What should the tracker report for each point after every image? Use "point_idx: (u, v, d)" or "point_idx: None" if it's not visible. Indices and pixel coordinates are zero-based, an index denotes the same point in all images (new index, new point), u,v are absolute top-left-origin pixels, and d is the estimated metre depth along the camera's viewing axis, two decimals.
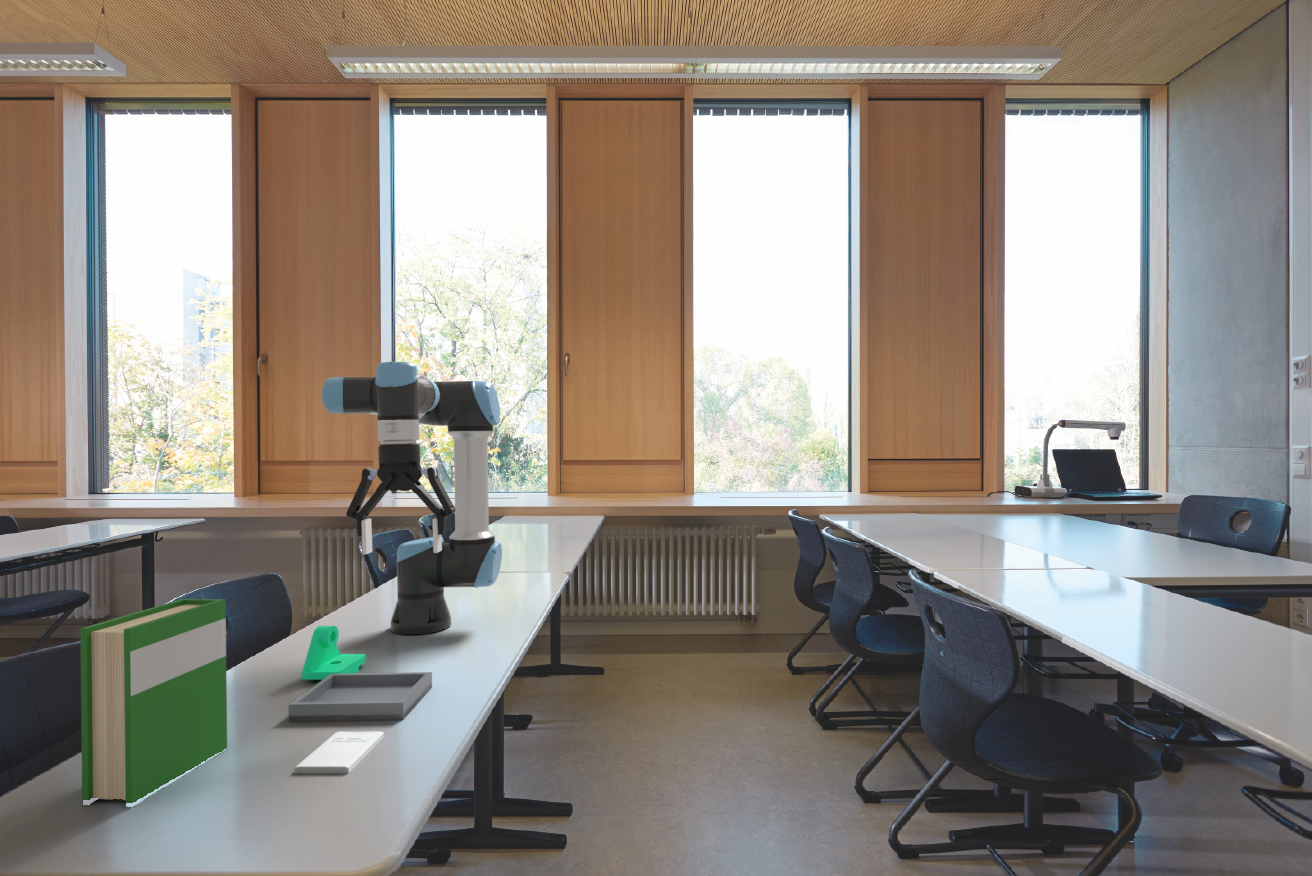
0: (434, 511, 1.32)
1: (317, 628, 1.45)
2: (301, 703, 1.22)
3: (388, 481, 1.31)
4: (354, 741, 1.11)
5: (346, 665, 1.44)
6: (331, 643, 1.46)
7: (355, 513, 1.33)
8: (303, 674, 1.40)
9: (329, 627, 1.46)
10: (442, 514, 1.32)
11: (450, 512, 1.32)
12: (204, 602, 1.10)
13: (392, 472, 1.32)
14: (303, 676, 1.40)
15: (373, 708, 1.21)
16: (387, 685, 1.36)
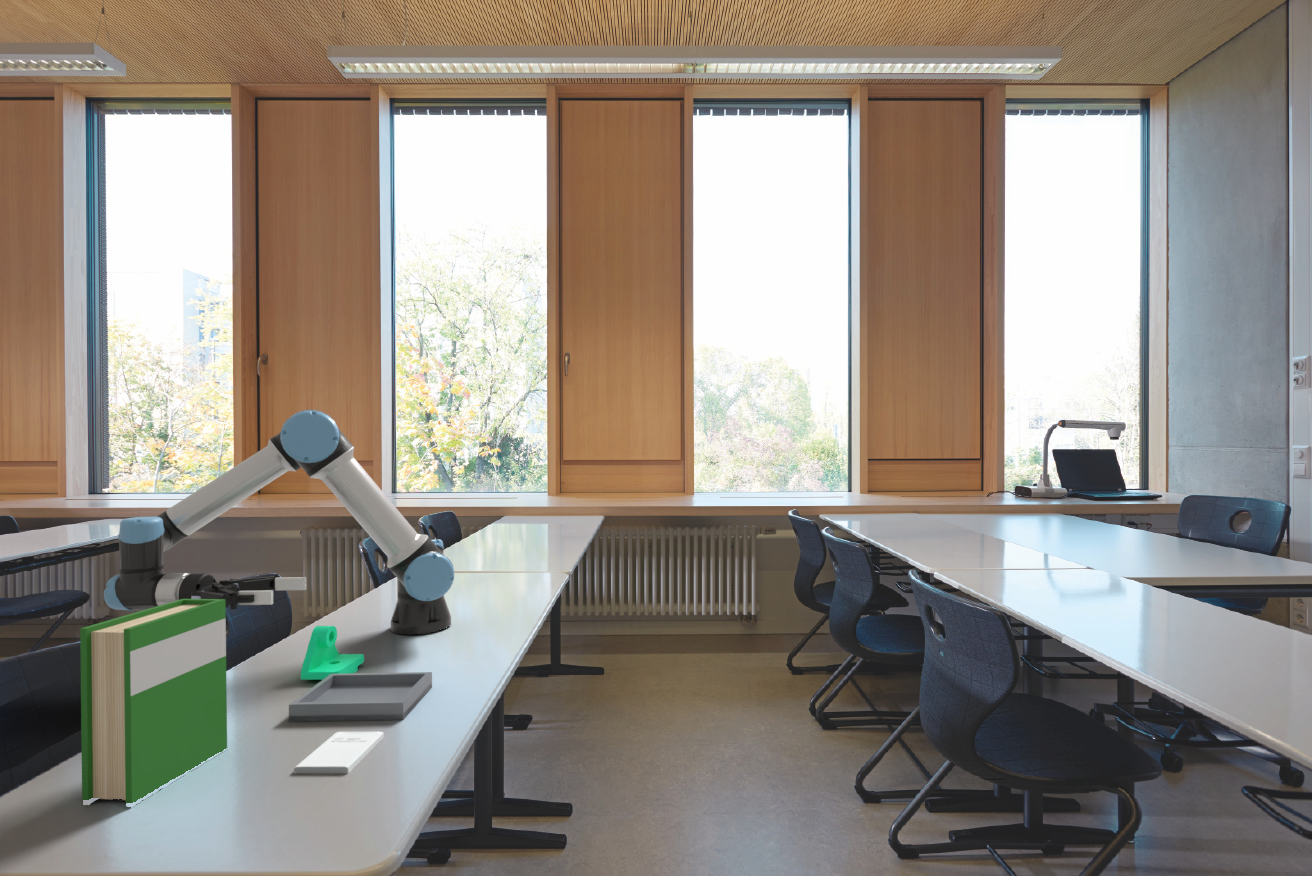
0: None
1: (316, 628, 1.45)
2: (301, 703, 1.22)
3: None
4: (353, 741, 1.11)
5: (345, 665, 1.44)
6: (330, 643, 1.46)
7: None
8: (302, 674, 1.40)
9: (328, 627, 1.46)
10: (231, 605, 1.38)
11: None
12: (204, 602, 1.10)
13: None
14: (301, 676, 1.40)
15: (373, 708, 1.21)
16: (387, 685, 1.36)
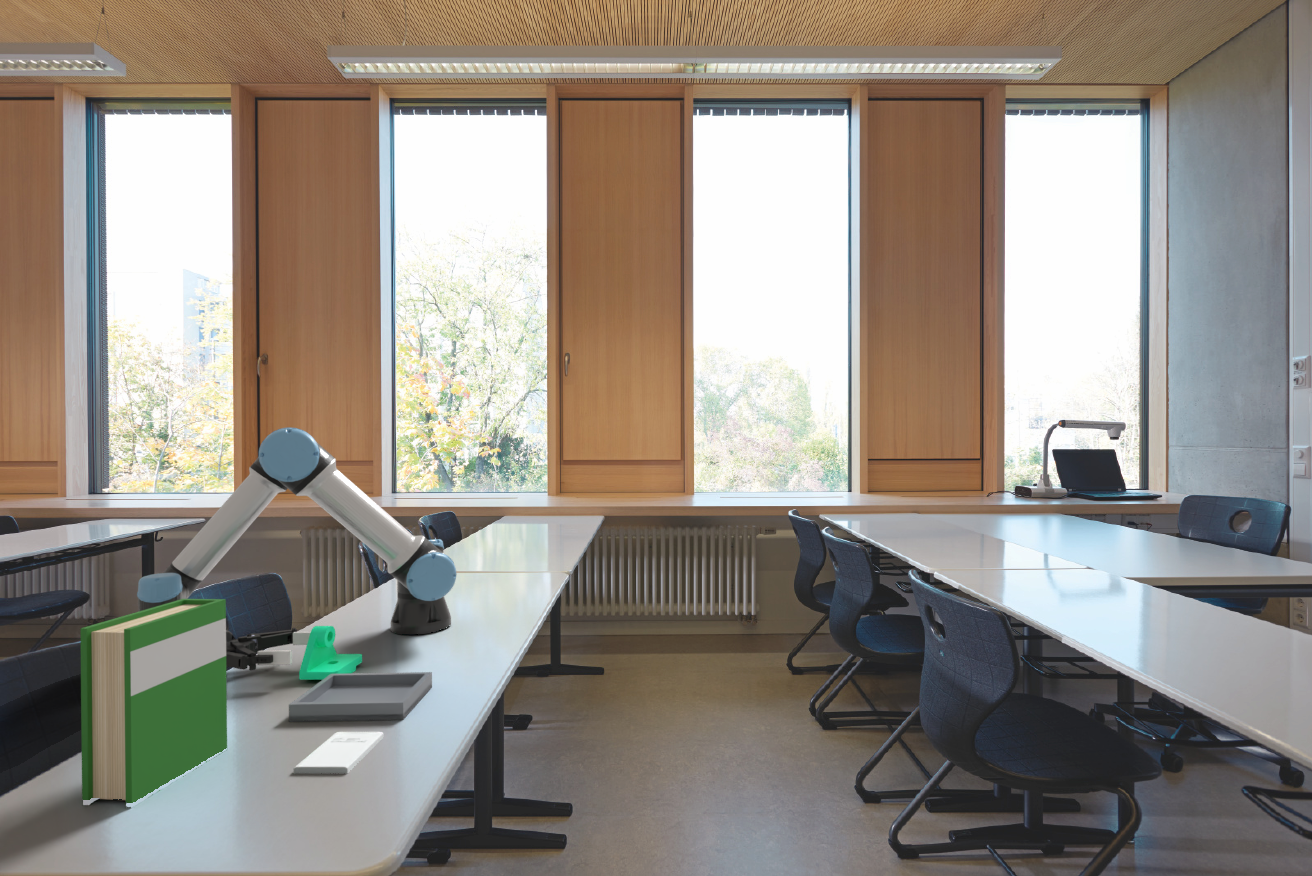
0: None
1: (314, 628, 1.45)
2: (301, 703, 1.22)
3: None
4: (353, 741, 1.11)
5: (343, 665, 1.44)
6: (328, 643, 1.46)
7: None
8: (300, 674, 1.40)
9: (326, 627, 1.46)
10: (250, 666, 1.37)
11: (243, 668, 1.36)
12: (204, 602, 1.10)
13: None
14: (300, 676, 1.40)
15: (373, 708, 1.21)
16: (387, 685, 1.36)
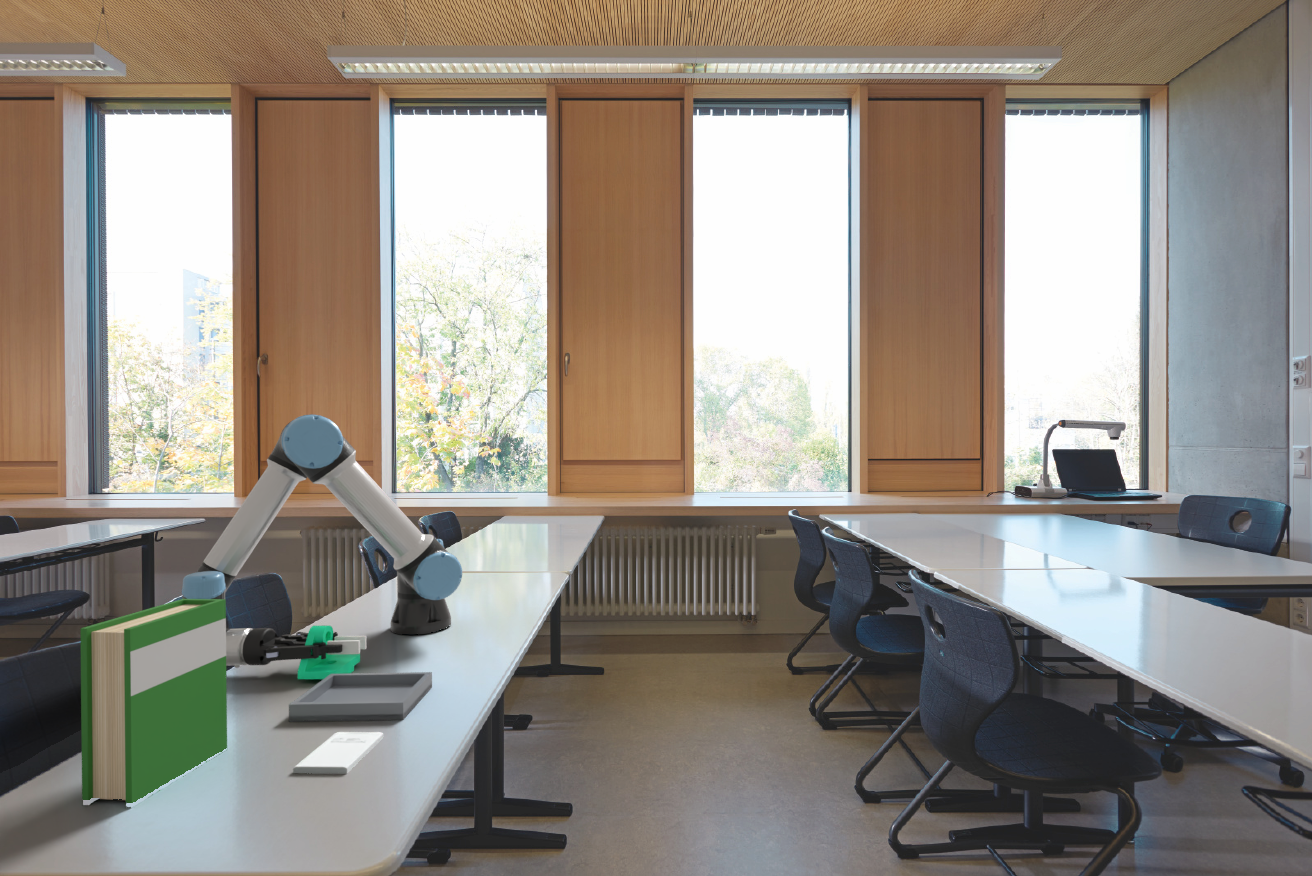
0: None
1: (312, 628, 1.45)
2: (301, 703, 1.22)
3: None
4: (353, 741, 1.11)
5: (342, 664, 1.44)
6: (326, 642, 1.46)
7: None
8: (299, 674, 1.40)
9: (324, 627, 1.46)
10: (322, 655, 1.43)
11: (316, 657, 1.42)
12: (204, 602, 1.10)
13: None
14: (298, 676, 1.40)
15: (373, 708, 1.21)
16: (387, 685, 1.36)
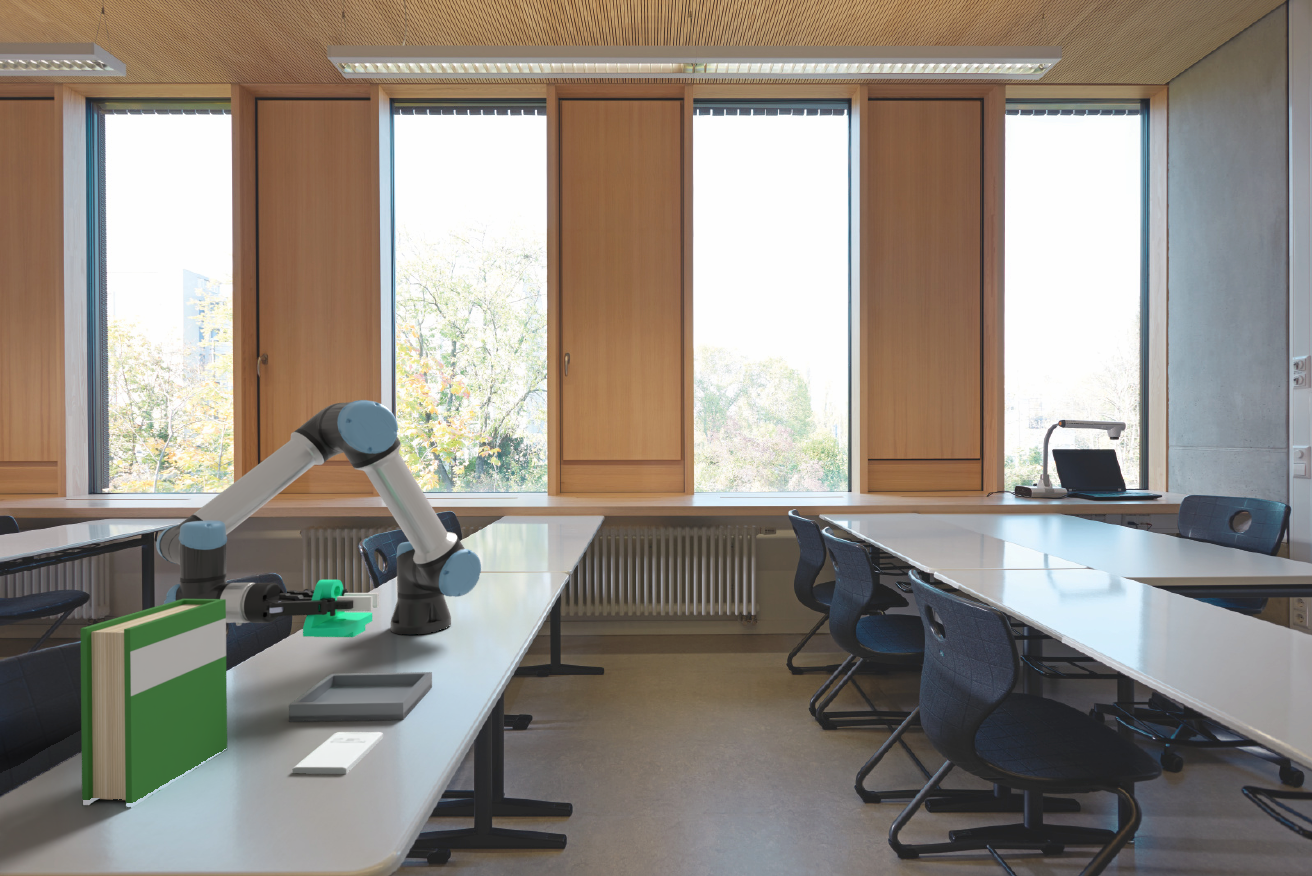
0: None
1: (320, 582, 1.32)
2: (301, 703, 1.22)
3: None
4: (353, 741, 1.11)
5: (351, 622, 1.30)
6: (335, 598, 1.32)
7: None
8: (304, 631, 1.27)
9: (333, 581, 1.32)
10: (331, 611, 1.30)
11: (324, 614, 1.28)
12: (204, 602, 1.10)
13: None
14: (304, 633, 1.27)
15: (373, 708, 1.21)
16: (387, 685, 1.36)
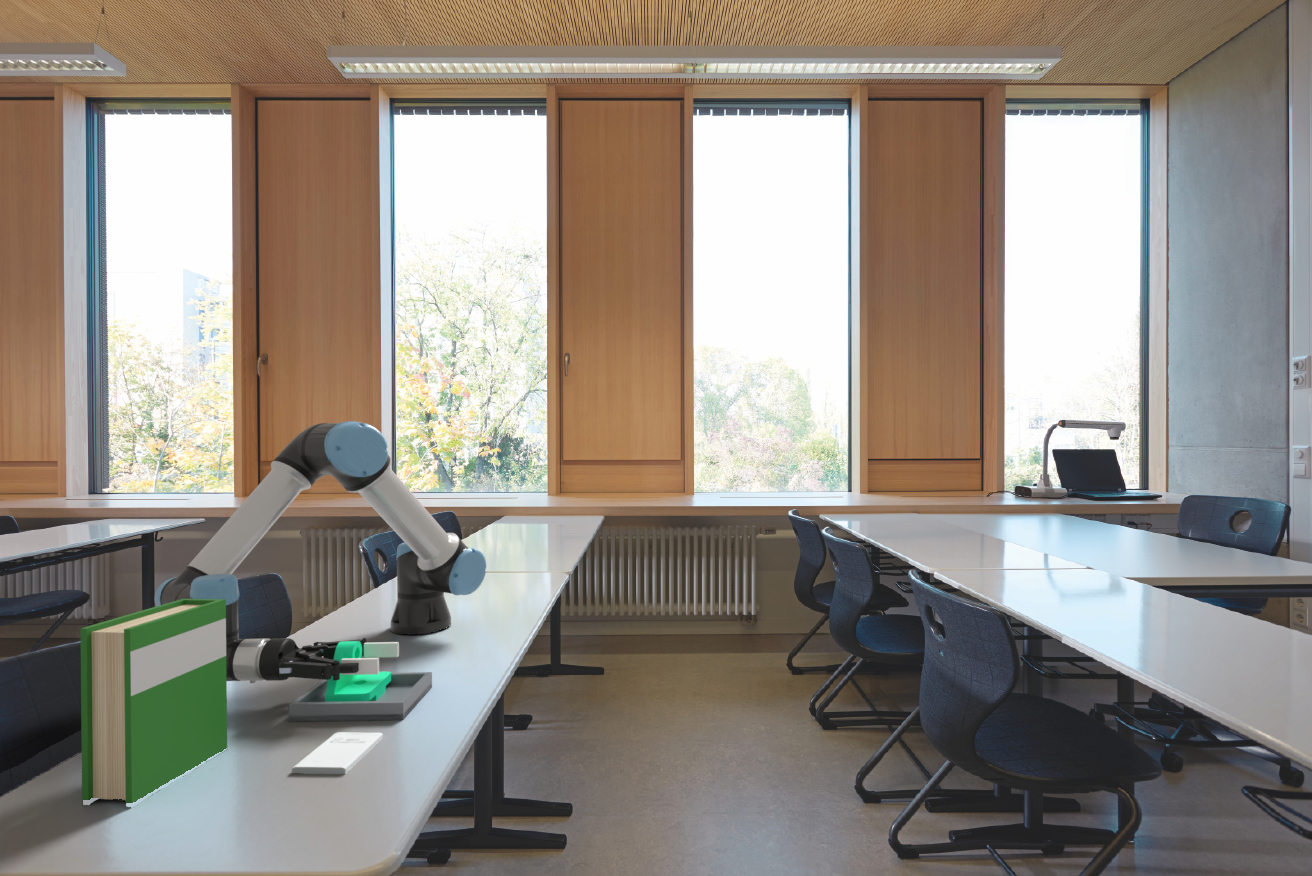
0: None
1: (339, 644, 1.29)
2: (301, 703, 1.22)
3: None
4: (352, 741, 1.11)
5: (374, 685, 1.28)
6: None
7: None
8: (327, 697, 1.24)
9: (353, 643, 1.30)
10: (334, 676, 1.23)
11: (328, 679, 1.21)
12: (204, 602, 1.10)
13: None
14: (326, 700, 1.24)
15: (373, 708, 1.21)
16: (387, 685, 1.36)
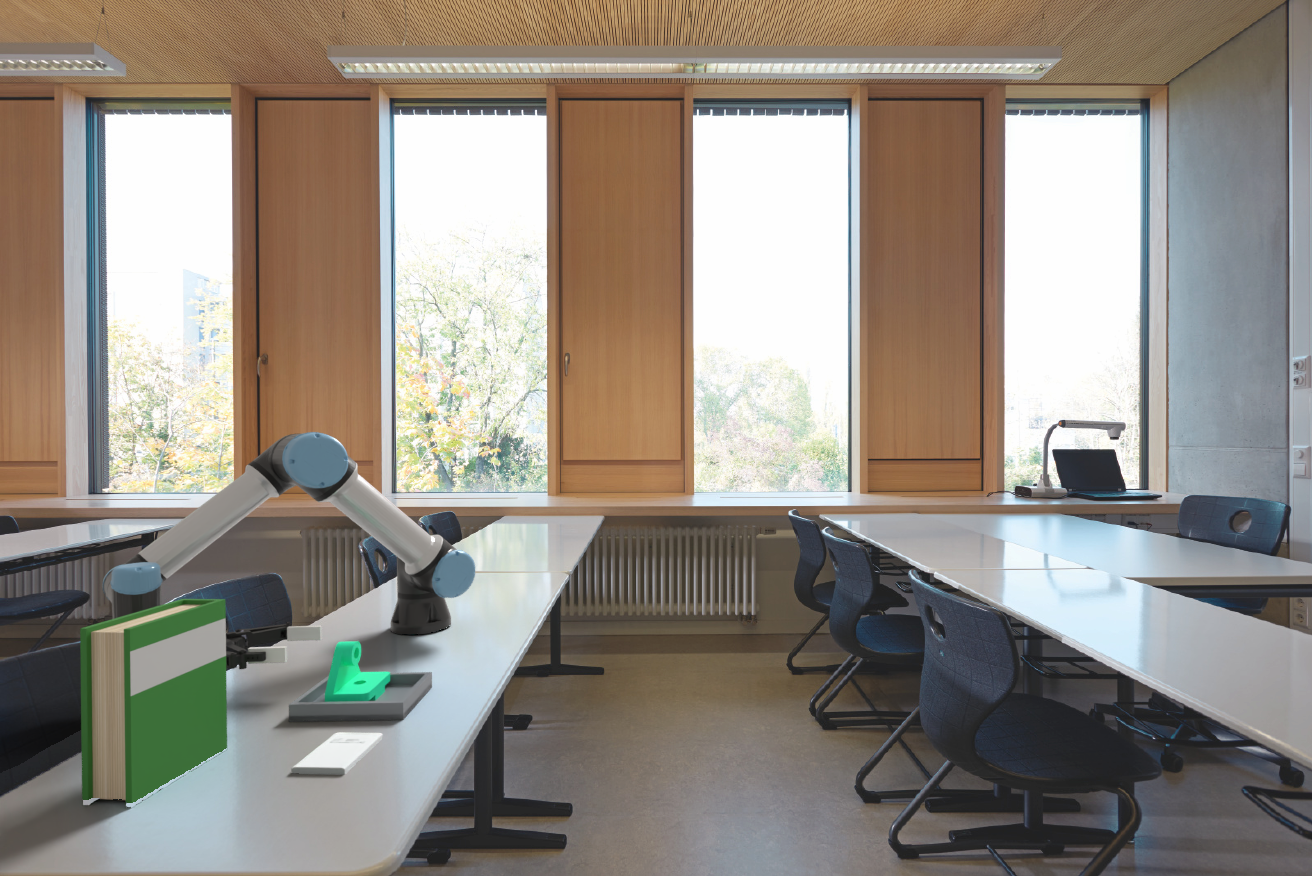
0: None
1: (338, 644, 1.29)
2: (301, 703, 1.22)
3: None
4: (352, 742, 1.10)
5: (373, 685, 1.28)
6: (355, 660, 1.30)
7: None
8: (326, 697, 1.24)
9: (352, 643, 1.30)
10: (240, 664, 1.22)
11: (232, 668, 1.21)
12: (204, 602, 1.10)
13: None
14: (326, 700, 1.24)
15: (373, 708, 1.21)
16: (387, 685, 1.36)
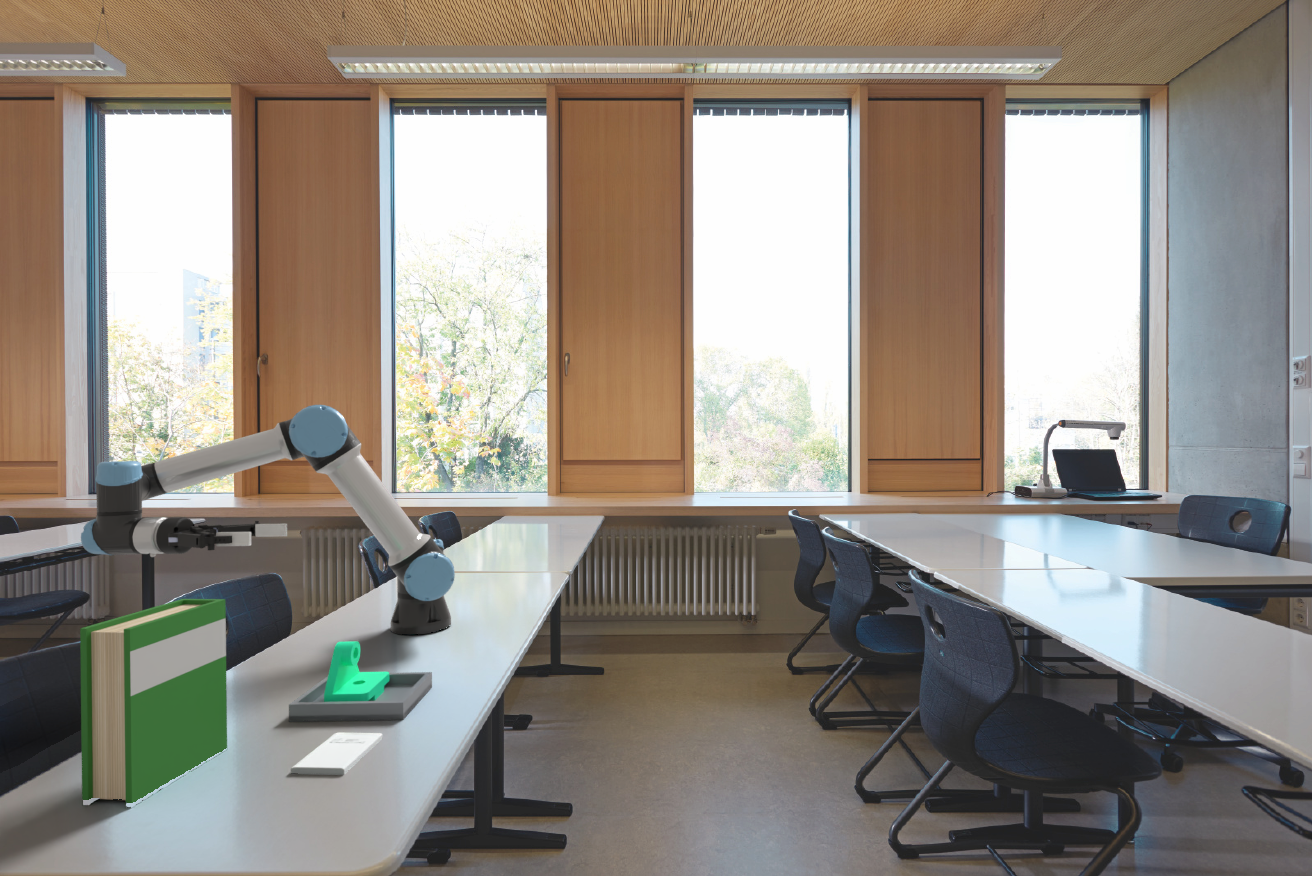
0: None
1: (338, 644, 1.29)
2: (301, 703, 1.22)
3: None
4: (352, 742, 1.10)
5: (372, 685, 1.28)
6: (354, 660, 1.30)
7: None
8: (325, 697, 1.24)
9: (351, 643, 1.30)
10: (208, 546, 1.36)
11: (201, 547, 1.34)
12: (204, 602, 1.10)
13: None
14: (325, 700, 1.24)
15: (373, 708, 1.21)
16: (387, 685, 1.36)
